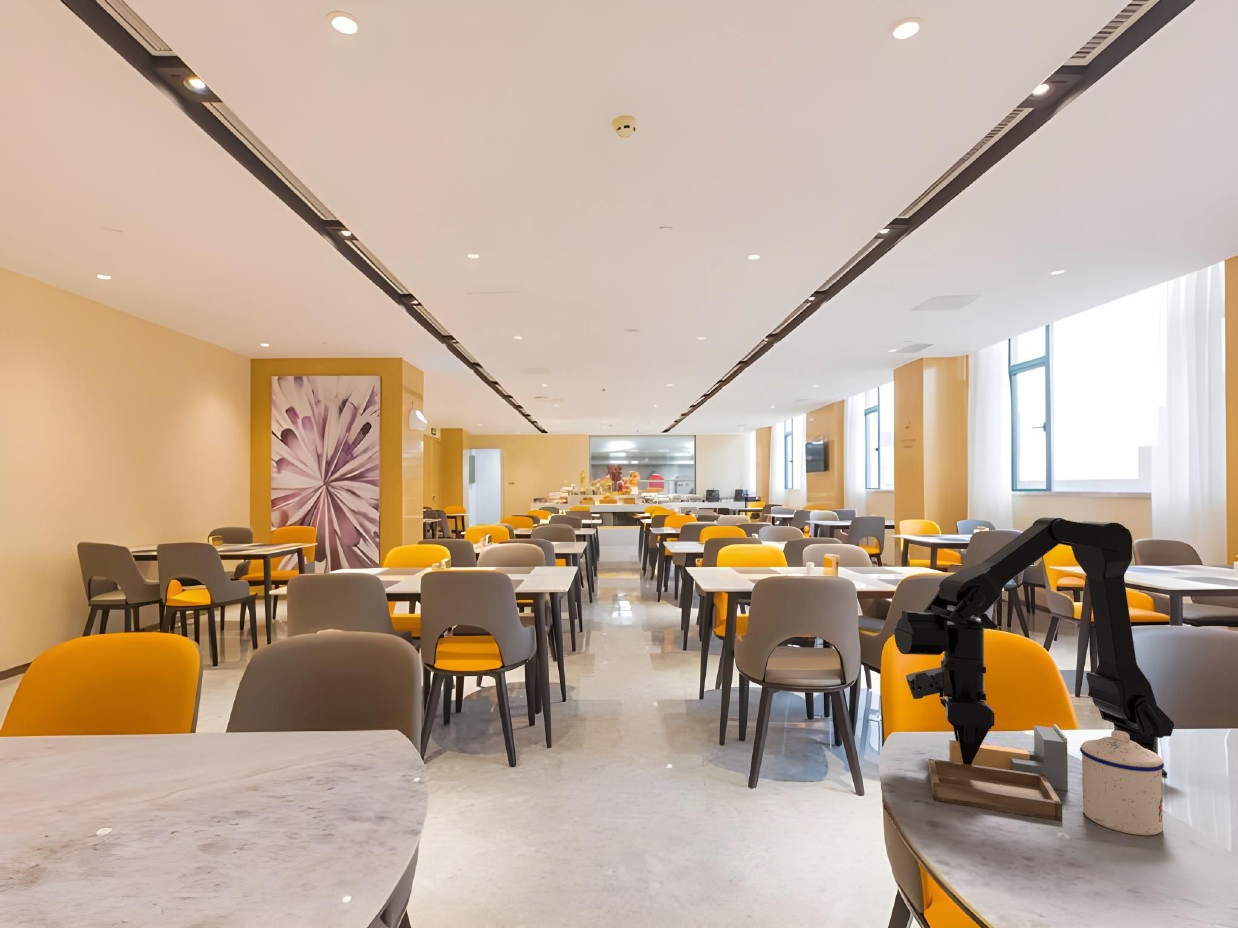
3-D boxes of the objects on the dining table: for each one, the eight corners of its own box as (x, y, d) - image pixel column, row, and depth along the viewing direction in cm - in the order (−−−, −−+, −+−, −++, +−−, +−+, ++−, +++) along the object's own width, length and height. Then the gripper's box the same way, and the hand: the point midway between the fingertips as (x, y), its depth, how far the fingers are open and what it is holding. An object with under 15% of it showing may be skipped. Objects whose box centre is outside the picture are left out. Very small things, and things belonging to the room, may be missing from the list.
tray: (928, 772, 106) (928, 758, 106) (1044, 790, 101) (1044, 774, 101) (933, 799, 96) (933, 783, 97) (1062, 820, 91) (1062, 803, 91)
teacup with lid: (1182, 840, 86) (1180, 746, 87) (1103, 833, 88) (1102, 741, 88) (1126, 799, 98) (1124, 717, 99) (1057, 794, 99) (1056, 713, 100)
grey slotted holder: (1005, 766, 110) (1005, 718, 110) (1056, 773, 107) (1055, 724, 108) (1013, 782, 103) (1013, 731, 104) (1067, 790, 101) (1067, 738, 101)
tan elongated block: (949, 764, 110) (949, 739, 111) (1027, 776, 107) (1026, 749, 107) (950, 769, 108) (950, 743, 109) (1029, 781, 105) (1029, 754, 105)
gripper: (906, 641, 121) (906, 732, 120) (911, 660, 104) (911, 766, 103) (977, 648, 117) (977, 742, 116) (994, 668, 100) (995, 779, 99)
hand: (963, 755), depth 108 cm, fingers open, 7 cm apart
